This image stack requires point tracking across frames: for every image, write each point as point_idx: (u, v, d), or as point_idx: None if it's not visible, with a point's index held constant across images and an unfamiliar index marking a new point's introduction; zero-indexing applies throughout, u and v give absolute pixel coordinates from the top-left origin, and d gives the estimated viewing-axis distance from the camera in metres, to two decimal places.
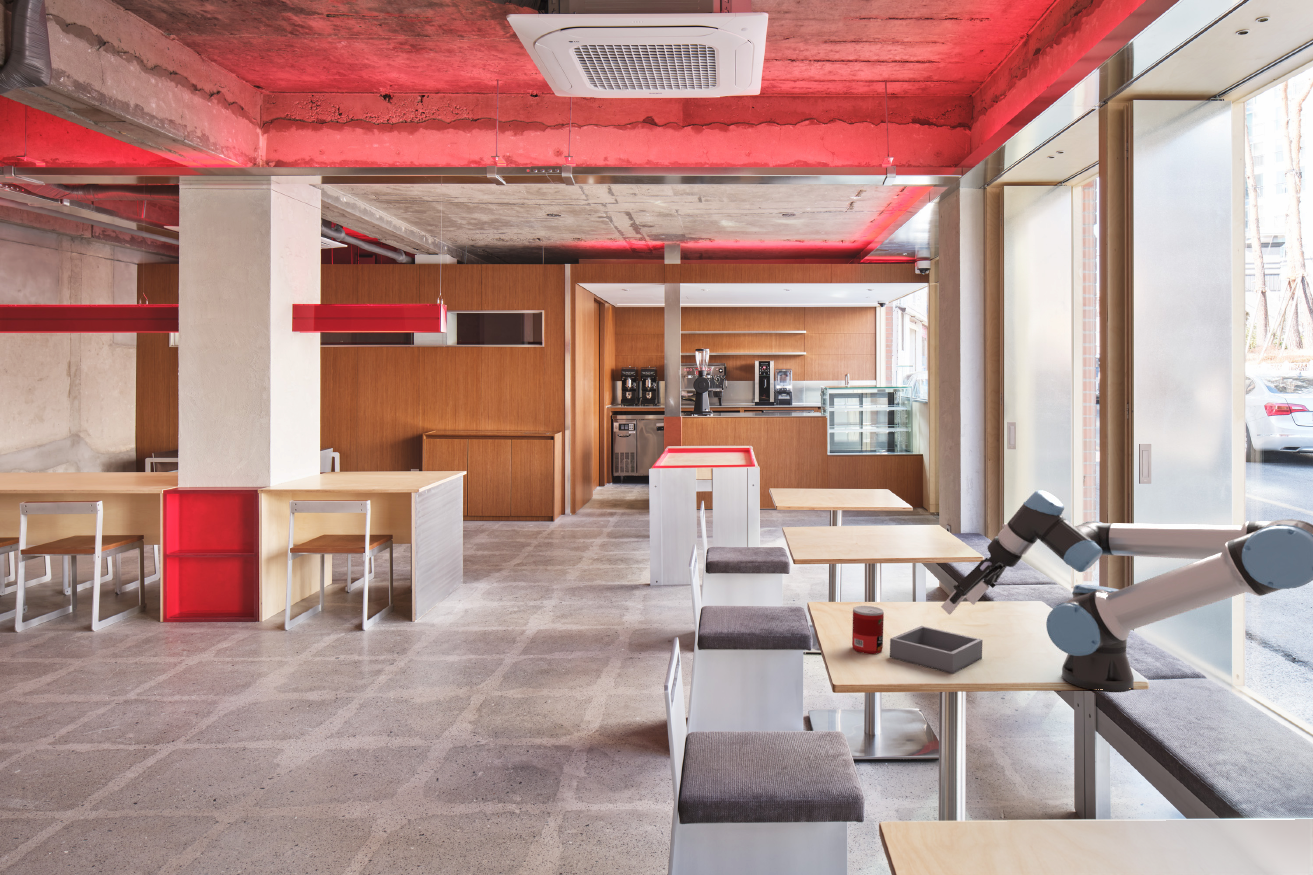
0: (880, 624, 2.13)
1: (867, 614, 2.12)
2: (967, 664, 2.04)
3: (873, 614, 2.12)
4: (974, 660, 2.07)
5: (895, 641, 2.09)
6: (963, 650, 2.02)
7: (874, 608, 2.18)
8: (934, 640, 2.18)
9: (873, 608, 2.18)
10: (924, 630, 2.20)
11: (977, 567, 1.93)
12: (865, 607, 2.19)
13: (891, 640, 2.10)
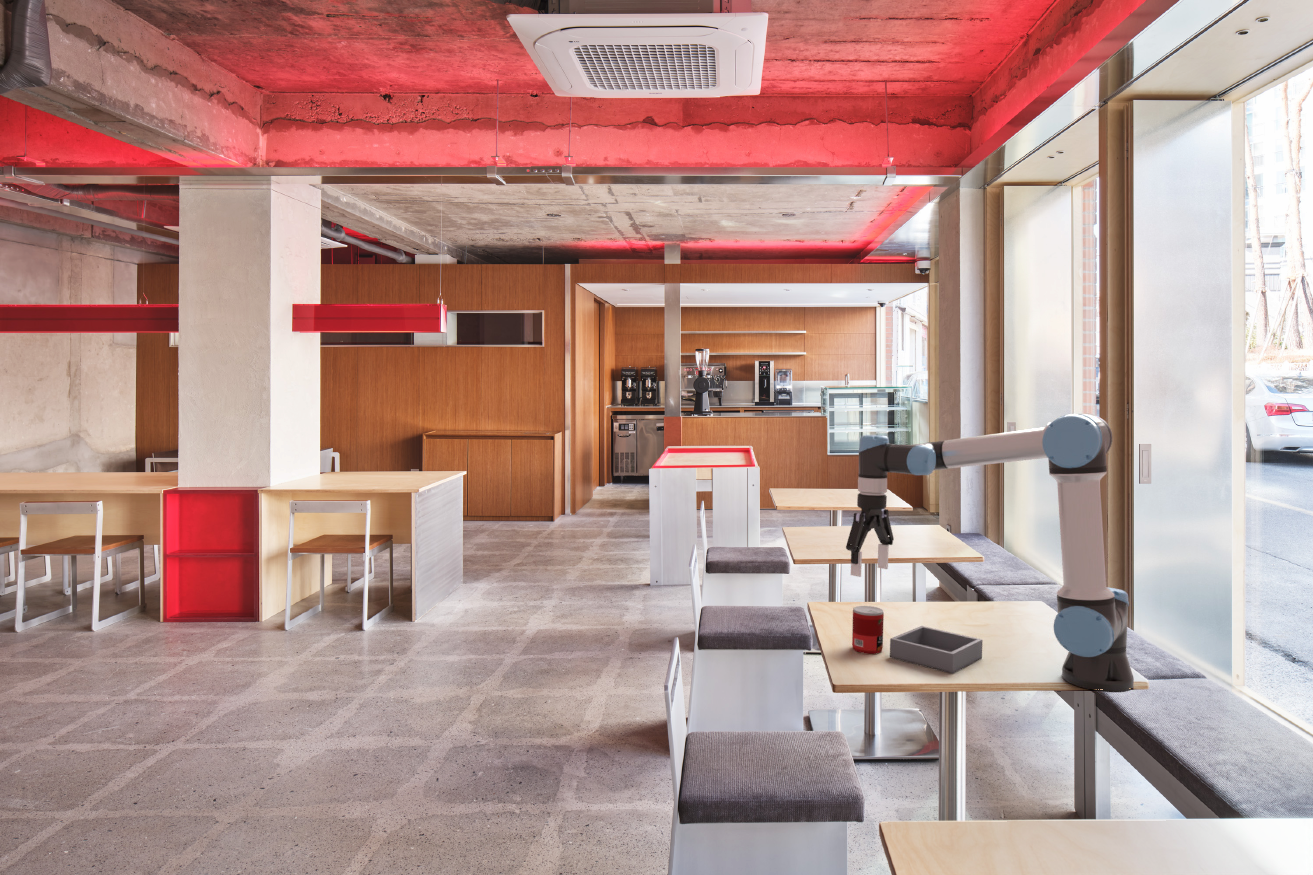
0: (880, 624, 2.13)
1: (867, 614, 2.12)
2: (967, 664, 2.04)
3: (873, 614, 2.12)
4: (974, 660, 2.07)
5: (895, 641, 2.09)
6: (963, 650, 2.02)
7: (874, 608, 2.18)
8: (934, 640, 2.18)
9: (873, 608, 2.18)
10: (924, 630, 2.20)
11: (854, 521, 2.10)
12: (865, 607, 2.19)
13: (891, 640, 2.10)
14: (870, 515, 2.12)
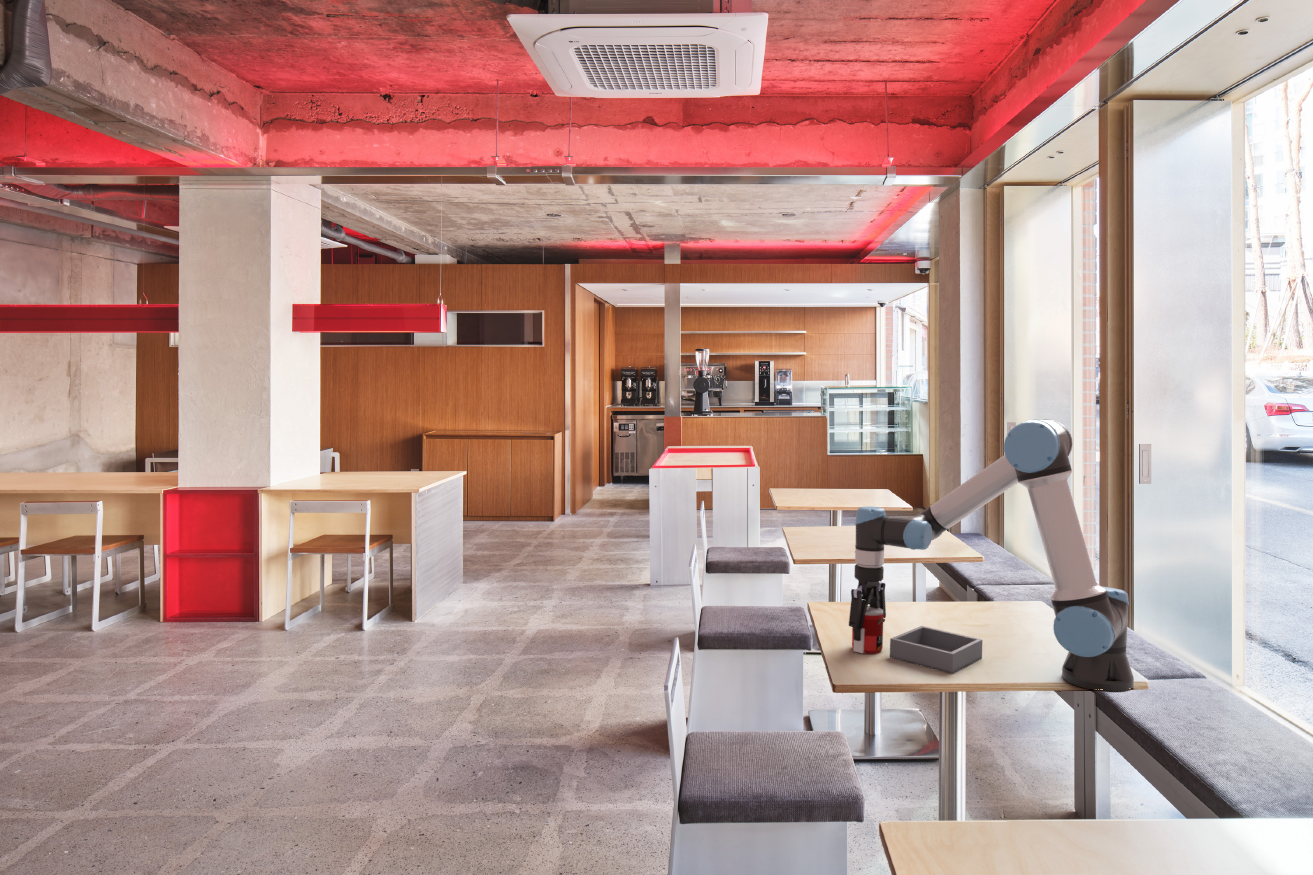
0: (880, 623, 2.13)
1: (867, 614, 2.12)
2: (967, 664, 2.04)
3: (873, 614, 2.12)
4: (974, 660, 2.07)
5: (895, 641, 2.09)
6: (963, 650, 2.02)
7: (874, 608, 2.18)
8: (934, 640, 2.18)
9: (873, 608, 2.18)
10: (924, 630, 2.20)
11: (852, 598, 2.12)
12: None
13: (891, 640, 2.10)
14: (867, 586, 2.13)
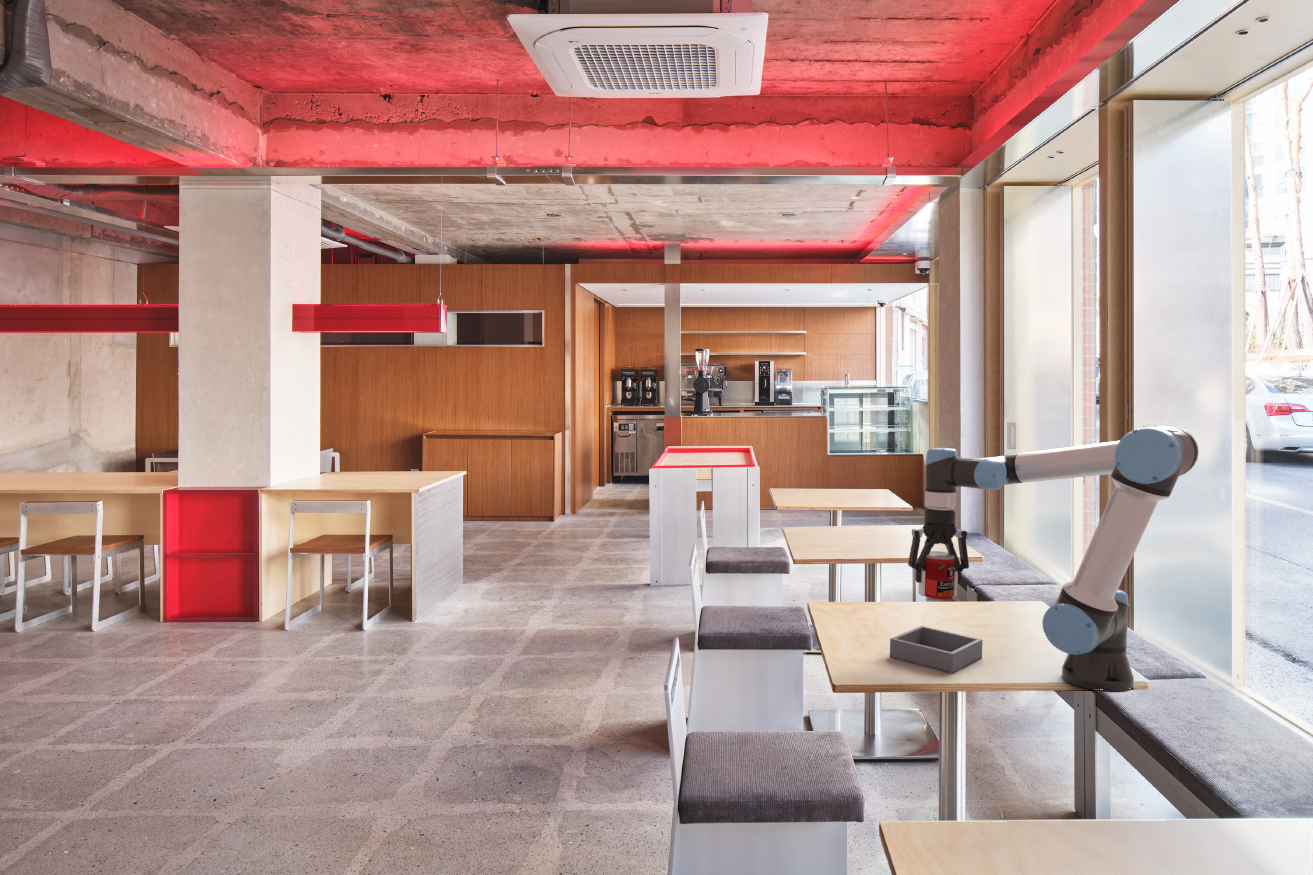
0: (941, 568, 2.05)
1: (928, 556, 2.07)
2: (967, 664, 2.04)
3: (933, 557, 2.06)
4: (974, 660, 2.07)
5: (895, 641, 2.09)
6: (963, 650, 2.02)
7: (950, 555, 2.08)
8: (934, 640, 2.18)
9: (949, 555, 2.09)
10: (924, 630, 2.20)
11: (913, 537, 2.09)
12: (943, 553, 2.11)
13: (891, 640, 2.10)
14: (931, 529, 2.07)
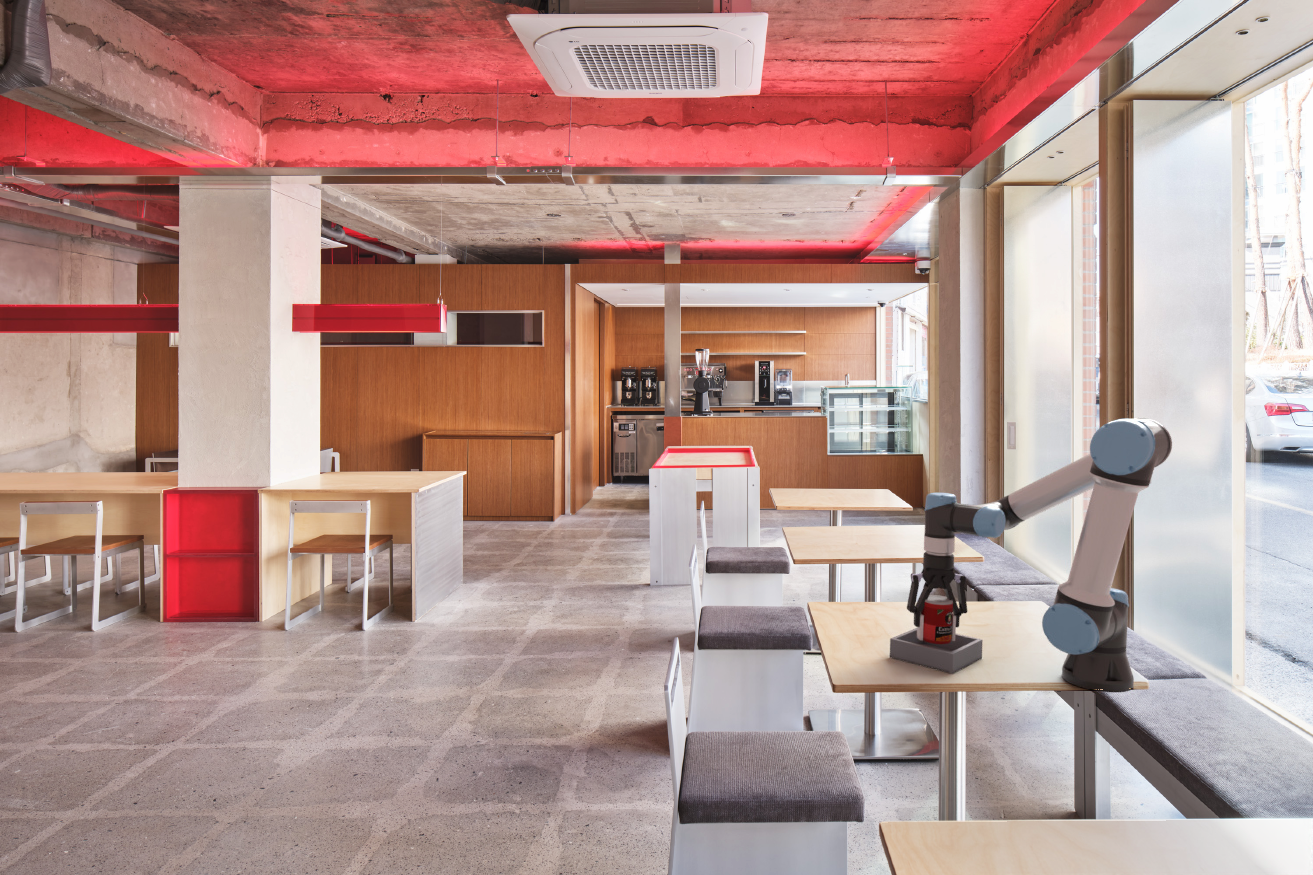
0: (940, 614, 2.06)
1: (926, 601, 2.08)
2: (967, 664, 2.04)
3: (931, 602, 2.06)
4: (974, 660, 2.07)
5: (895, 641, 2.09)
6: (963, 650, 2.02)
7: (948, 599, 2.09)
8: None
9: (947, 599, 2.09)
10: None
11: None
12: (942, 597, 2.11)
13: (891, 640, 2.10)
14: (930, 573, 2.08)
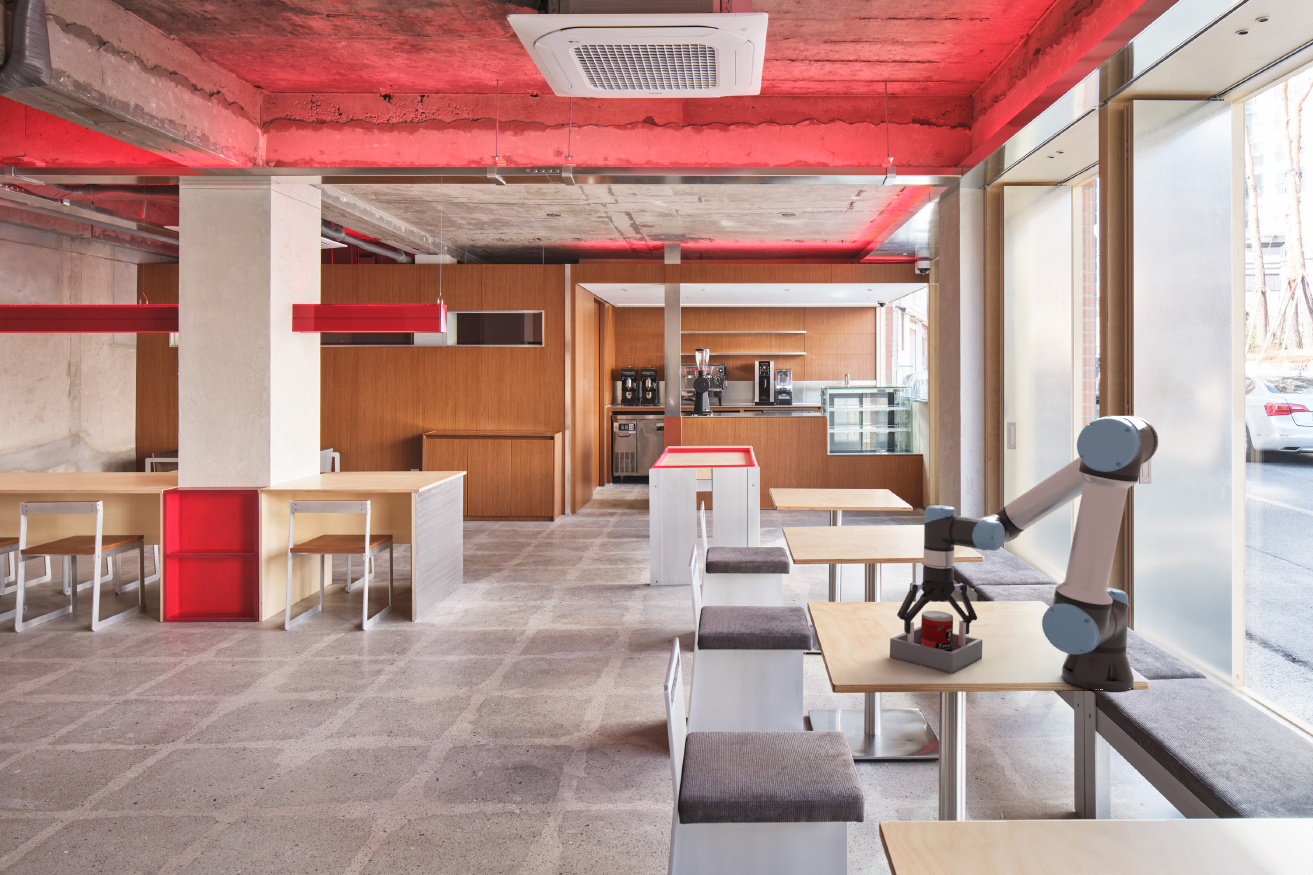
0: (940, 630, 2.06)
1: (926, 617, 2.08)
2: (967, 664, 2.04)
3: (931, 618, 2.07)
4: (974, 660, 2.07)
5: (895, 641, 2.09)
6: (963, 650, 2.02)
7: (948, 615, 2.09)
8: None
9: (948, 615, 2.10)
10: None
11: (909, 590, 2.10)
12: (942, 613, 2.12)
13: (891, 640, 2.10)
14: (930, 587, 2.08)
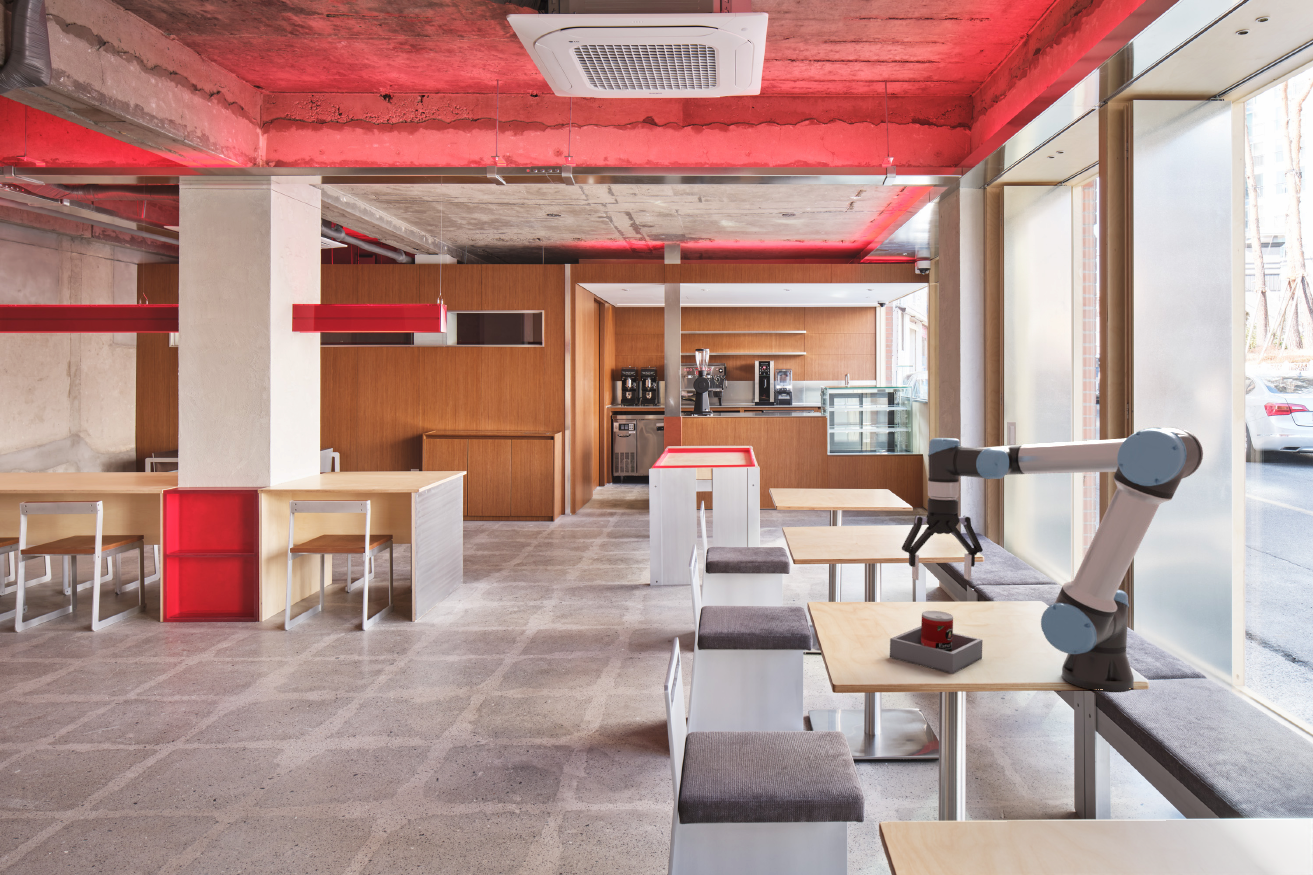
0: (940, 630, 2.06)
1: (926, 617, 2.08)
2: (967, 664, 2.04)
3: (931, 618, 2.07)
4: (974, 660, 2.07)
5: (895, 641, 2.09)
6: (963, 650, 2.02)
7: (948, 615, 2.09)
8: None
9: (948, 615, 2.10)
10: None
11: (914, 523, 2.09)
12: (942, 613, 2.12)
13: (891, 640, 2.10)
14: (935, 519, 2.07)
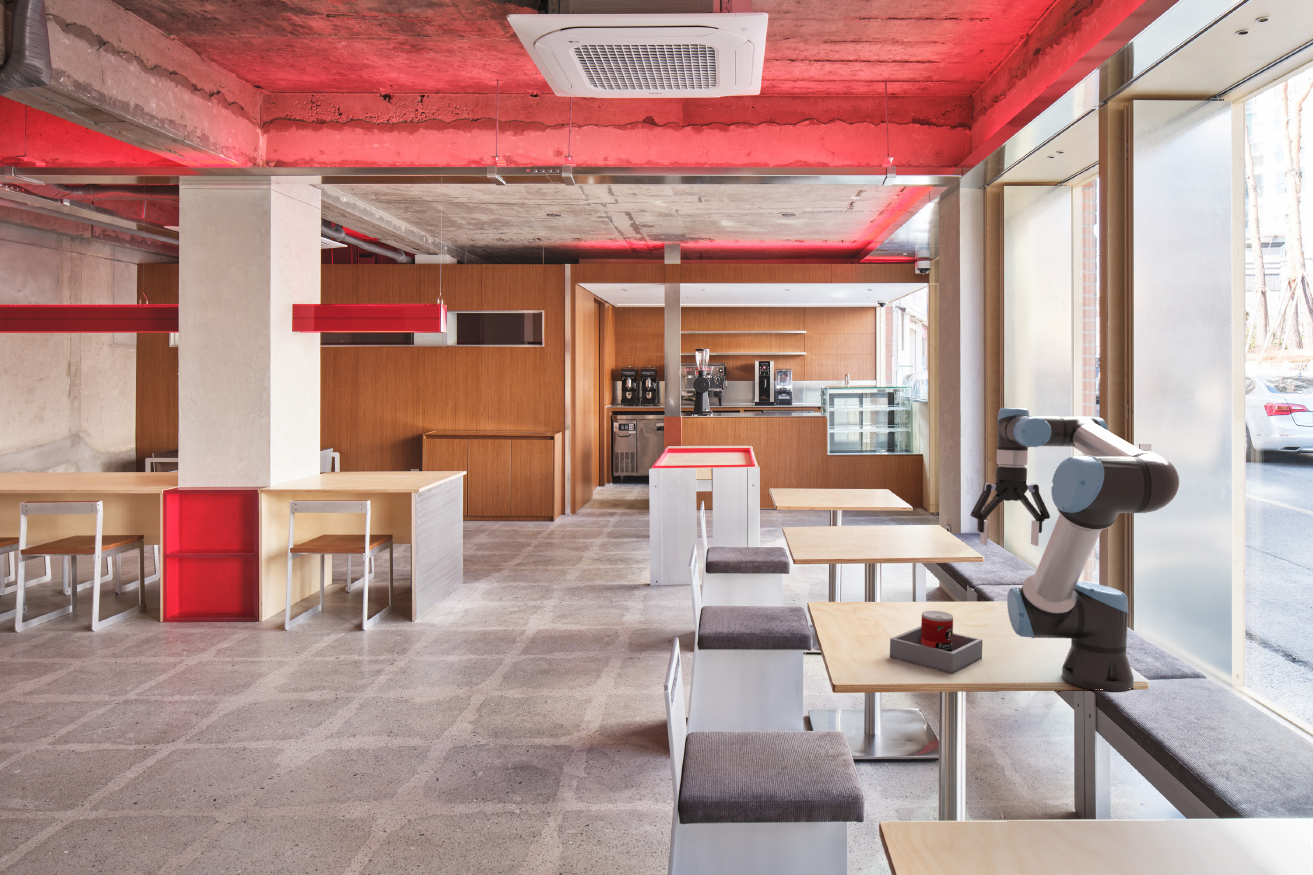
0: (940, 630, 2.06)
1: (926, 617, 2.08)
2: (967, 664, 2.04)
3: (931, 618, 2.07)
4: (974, 660, 2.07)
5: (895, 641, 2.09)
6: (963, 650, 2.02)
7: (948, 615, 2.09)
8: None
9: (948, 615, 2.10)
10: None
11: (983, 491, 2.16)
12: (942, 613, 2.12)
13: (891, 640, 2.10)
14: (1004, 487, 2.14)
